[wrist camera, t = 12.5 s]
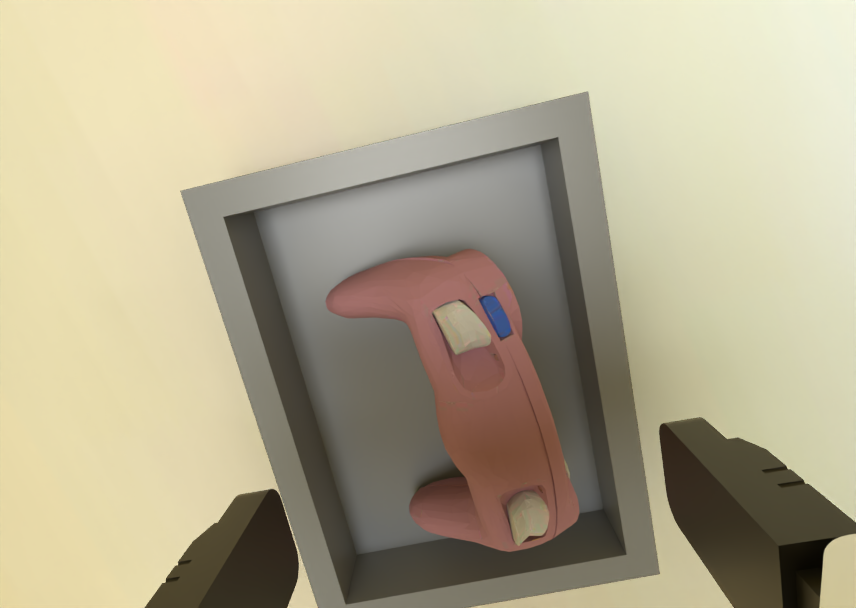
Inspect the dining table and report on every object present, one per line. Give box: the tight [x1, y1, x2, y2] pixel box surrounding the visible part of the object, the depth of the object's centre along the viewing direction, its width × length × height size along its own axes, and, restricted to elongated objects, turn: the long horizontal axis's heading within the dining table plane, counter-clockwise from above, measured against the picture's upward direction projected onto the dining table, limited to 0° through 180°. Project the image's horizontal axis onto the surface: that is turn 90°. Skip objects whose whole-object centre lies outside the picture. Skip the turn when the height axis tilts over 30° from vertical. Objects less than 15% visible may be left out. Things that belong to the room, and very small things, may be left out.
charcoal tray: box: [180, 92, 660, 608], centre depth 18 cm, size 12×16×4 cm
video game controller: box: [325, 249, 579, 552], centre depth 16 cm, size 10×5×7 cm, turn 19°
